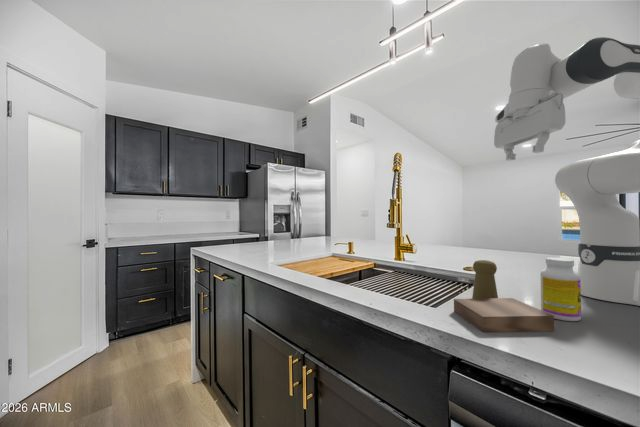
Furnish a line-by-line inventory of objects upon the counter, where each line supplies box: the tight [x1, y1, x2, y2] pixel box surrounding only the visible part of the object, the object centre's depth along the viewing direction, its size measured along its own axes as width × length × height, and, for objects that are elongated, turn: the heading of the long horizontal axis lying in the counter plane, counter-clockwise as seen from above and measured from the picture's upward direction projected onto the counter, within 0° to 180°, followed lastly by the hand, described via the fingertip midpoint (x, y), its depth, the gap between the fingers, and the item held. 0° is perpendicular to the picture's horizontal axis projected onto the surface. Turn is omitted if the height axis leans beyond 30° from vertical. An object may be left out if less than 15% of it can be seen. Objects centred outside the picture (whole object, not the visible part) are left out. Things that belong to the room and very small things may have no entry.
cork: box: [471, 259, 499, 299], centre depth 68 cm, size 6×6×11 cm
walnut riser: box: [453, 297, 555, 333], centre depth 57 cm, size 14×11×3 cm
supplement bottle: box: [540, 257, 582, 322], centre depth 59 cm, size 7×7×13 cm
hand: (523, 156), depth 72 cm, fingers open, 8 cm apart
